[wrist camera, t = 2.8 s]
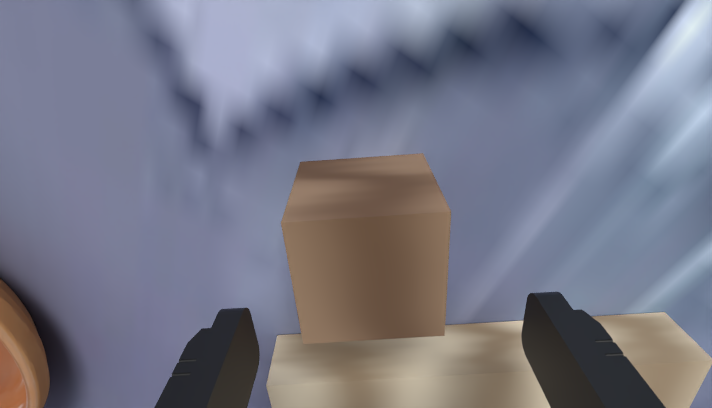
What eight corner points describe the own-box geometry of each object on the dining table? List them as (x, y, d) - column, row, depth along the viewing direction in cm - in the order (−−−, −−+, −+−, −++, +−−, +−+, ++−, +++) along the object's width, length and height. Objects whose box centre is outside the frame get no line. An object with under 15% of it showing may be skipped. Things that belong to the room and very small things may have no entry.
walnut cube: (315, 260, 18) (303, 343, 14) (300, 161, 16) (281, 222, 11) (421, 253, 18) (444, 335, 14) (422, 152, 16) (451, 211, 11)
